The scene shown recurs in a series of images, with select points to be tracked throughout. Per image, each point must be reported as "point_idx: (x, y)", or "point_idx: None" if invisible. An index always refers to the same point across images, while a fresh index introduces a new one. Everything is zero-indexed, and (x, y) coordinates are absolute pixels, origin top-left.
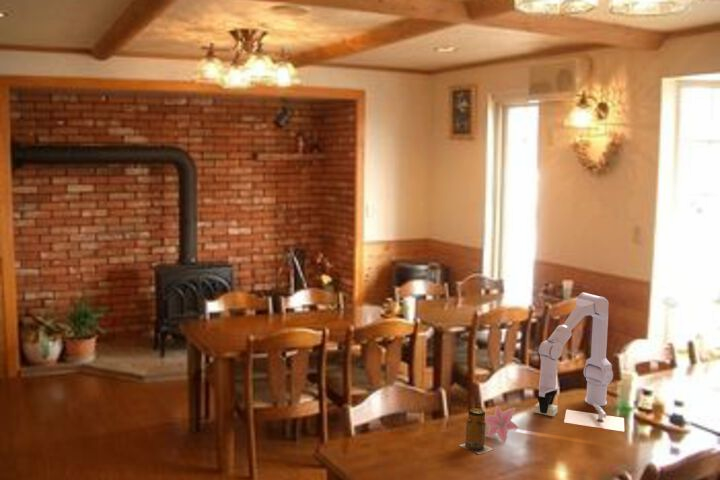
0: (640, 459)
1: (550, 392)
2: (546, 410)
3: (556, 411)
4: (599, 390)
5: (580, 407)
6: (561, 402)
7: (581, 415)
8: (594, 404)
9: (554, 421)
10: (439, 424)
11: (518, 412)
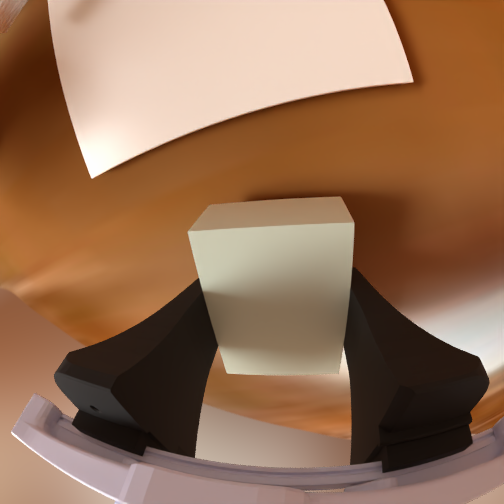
0: None
1: (162, 410)
2: (367, 282)
3: (240, 208)
4: None
5: (10, 155)
6: (31, 255)
7: (125, 32)
8: (8, 5)
9: (371, 169)
10: (496, 419)
11: (330, 379)
